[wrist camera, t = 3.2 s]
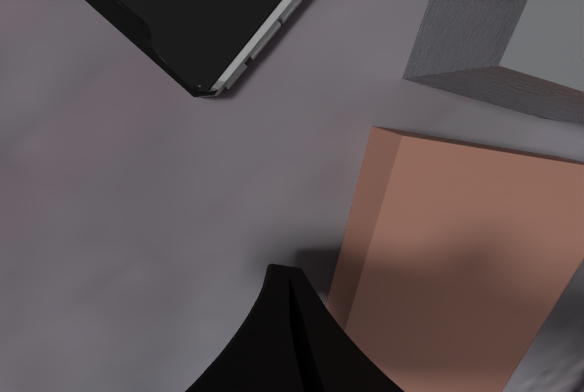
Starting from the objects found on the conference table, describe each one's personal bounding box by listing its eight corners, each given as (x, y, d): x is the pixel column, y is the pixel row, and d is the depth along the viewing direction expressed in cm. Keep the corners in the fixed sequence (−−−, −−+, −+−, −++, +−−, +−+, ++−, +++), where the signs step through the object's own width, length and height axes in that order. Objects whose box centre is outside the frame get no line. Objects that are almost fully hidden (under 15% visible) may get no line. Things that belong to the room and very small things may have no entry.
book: (435, 383, 16) (469, 443, 13) (305, 376, 15) (312, 439, 12) (546, 154, 11) (635, 173, 9) (367, 125, 11) (402, 135, 8)
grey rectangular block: (540, 118, 11) (718, 133, 6) (401, 78, 10) (498, 65, 5) (603, 0, 9) (878, -79, 5) (447, -58, 8) (623, -212, 4)
